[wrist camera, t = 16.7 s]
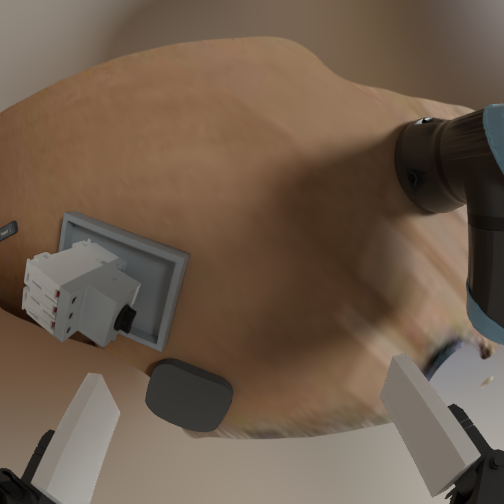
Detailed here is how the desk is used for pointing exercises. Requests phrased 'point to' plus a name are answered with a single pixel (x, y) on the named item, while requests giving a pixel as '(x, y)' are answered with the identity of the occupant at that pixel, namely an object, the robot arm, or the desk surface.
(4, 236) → the usb stick
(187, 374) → the media streaming box
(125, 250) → the tray
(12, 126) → the desk surface
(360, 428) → the desk surface
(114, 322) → the circuit breaker
